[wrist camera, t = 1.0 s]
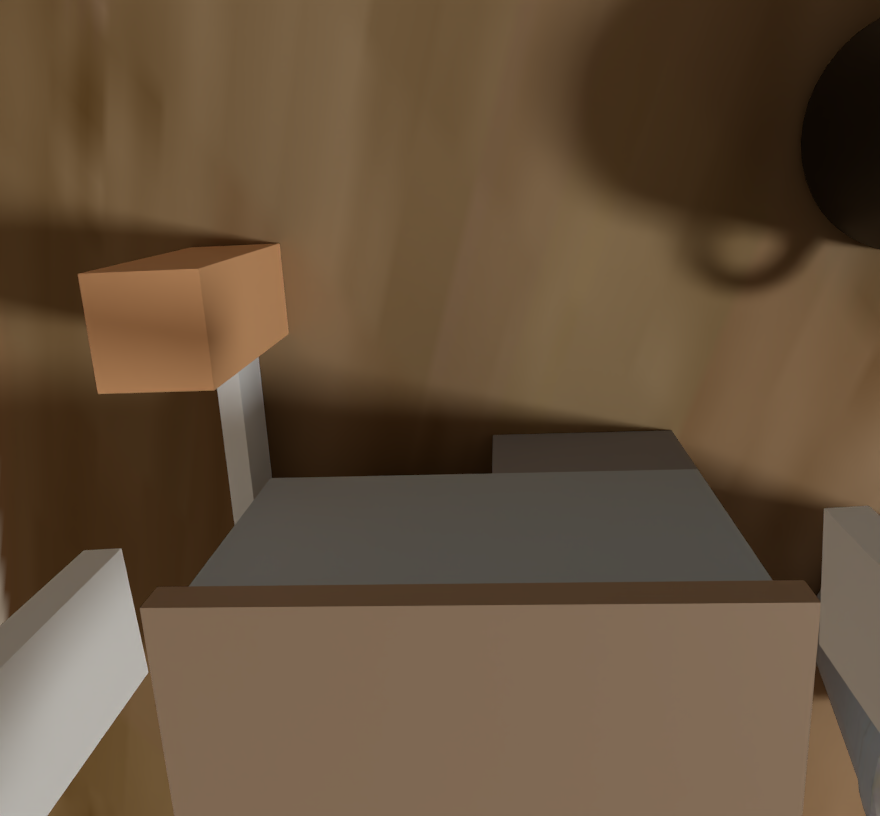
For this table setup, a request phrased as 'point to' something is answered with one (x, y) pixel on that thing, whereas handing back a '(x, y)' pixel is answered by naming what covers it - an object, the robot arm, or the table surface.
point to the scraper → (194, 339)
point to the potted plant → (854, 732)
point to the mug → (847, 138)
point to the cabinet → (488, 646)
